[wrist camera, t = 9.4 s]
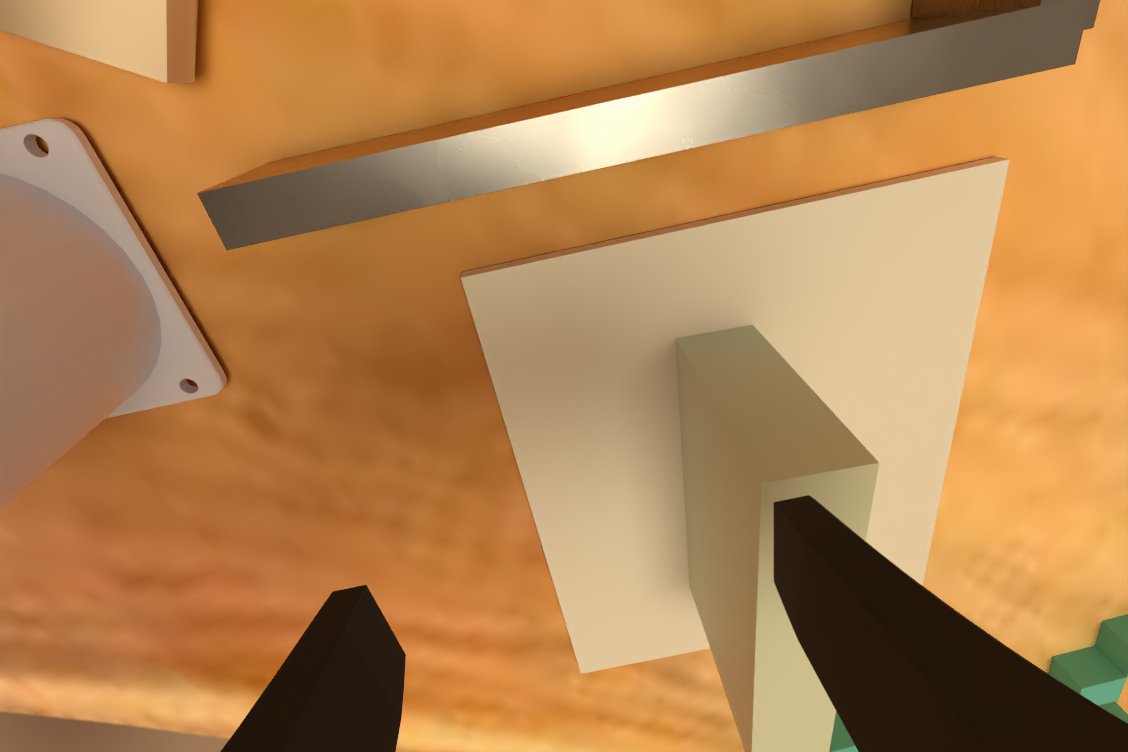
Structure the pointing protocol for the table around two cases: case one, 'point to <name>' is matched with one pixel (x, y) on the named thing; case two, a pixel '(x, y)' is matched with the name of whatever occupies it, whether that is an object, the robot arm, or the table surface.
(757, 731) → the sage board
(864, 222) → the rubber mat
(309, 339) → the table surface
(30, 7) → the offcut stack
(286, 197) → the offcut rack
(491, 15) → the table surface
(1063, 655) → the alien figure
